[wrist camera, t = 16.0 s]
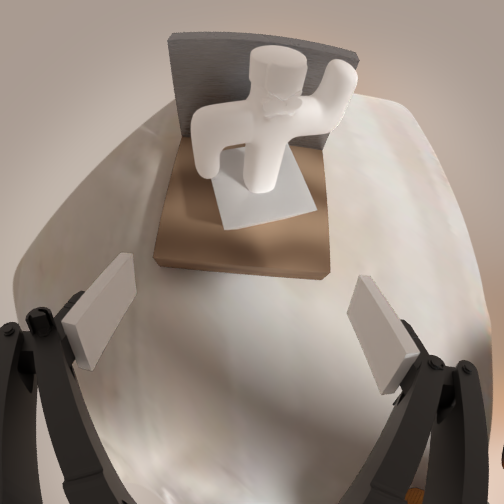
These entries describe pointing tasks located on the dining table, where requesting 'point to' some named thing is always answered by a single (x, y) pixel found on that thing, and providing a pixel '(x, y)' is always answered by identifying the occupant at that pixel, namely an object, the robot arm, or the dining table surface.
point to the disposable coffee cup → (415, 496)
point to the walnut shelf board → (245, 239)
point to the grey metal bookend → (237, 71)
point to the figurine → (267, 136)
